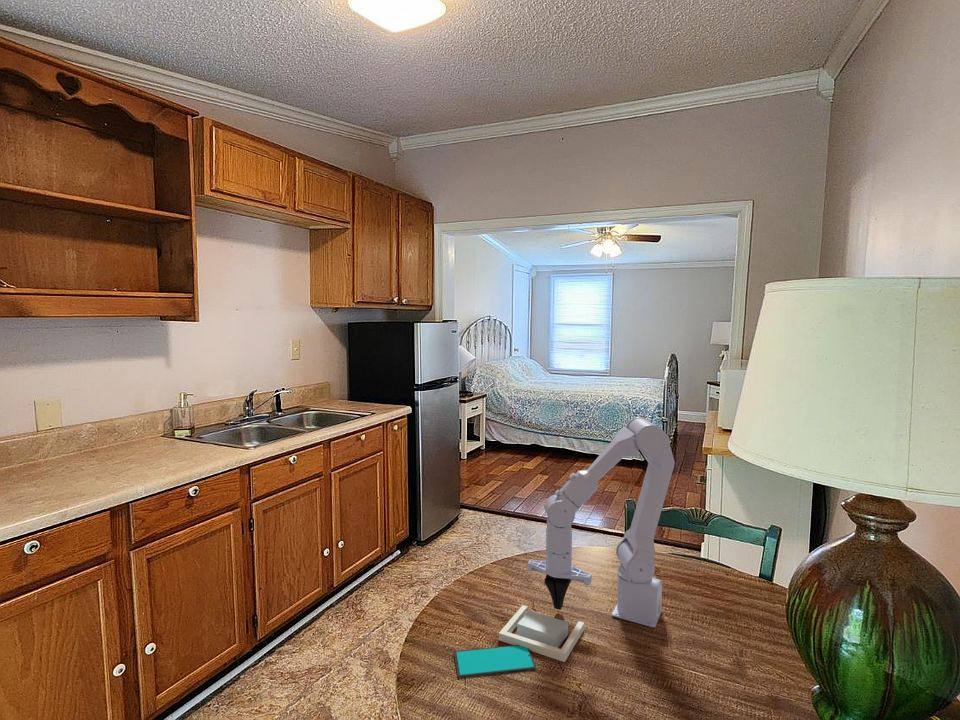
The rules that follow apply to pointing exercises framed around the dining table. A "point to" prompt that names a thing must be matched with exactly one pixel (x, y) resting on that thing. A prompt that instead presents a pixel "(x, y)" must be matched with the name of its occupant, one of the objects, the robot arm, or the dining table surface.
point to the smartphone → (493, 661)
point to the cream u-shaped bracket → (537, 646)
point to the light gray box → (542, 628)
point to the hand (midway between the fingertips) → (558, 607)
